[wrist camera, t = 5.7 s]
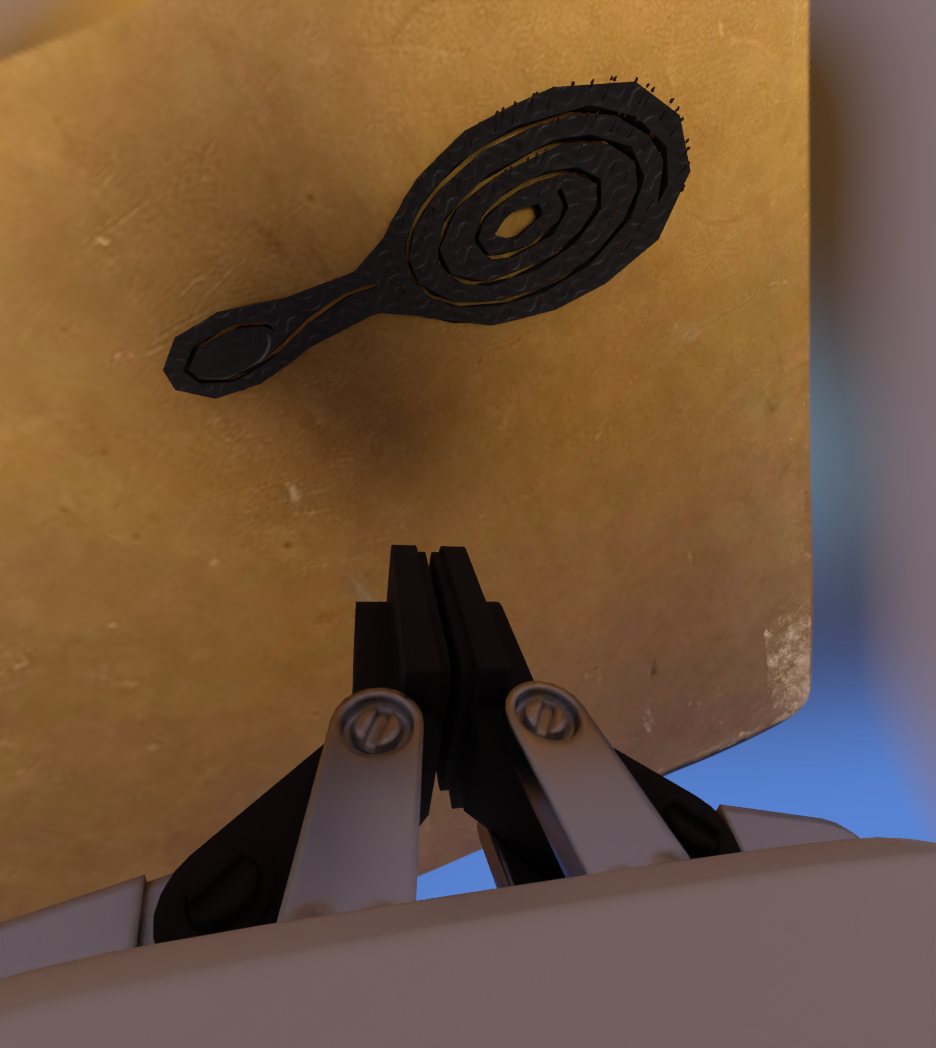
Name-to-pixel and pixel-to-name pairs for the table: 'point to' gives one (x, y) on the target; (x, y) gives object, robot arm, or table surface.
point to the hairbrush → (480, 232)
